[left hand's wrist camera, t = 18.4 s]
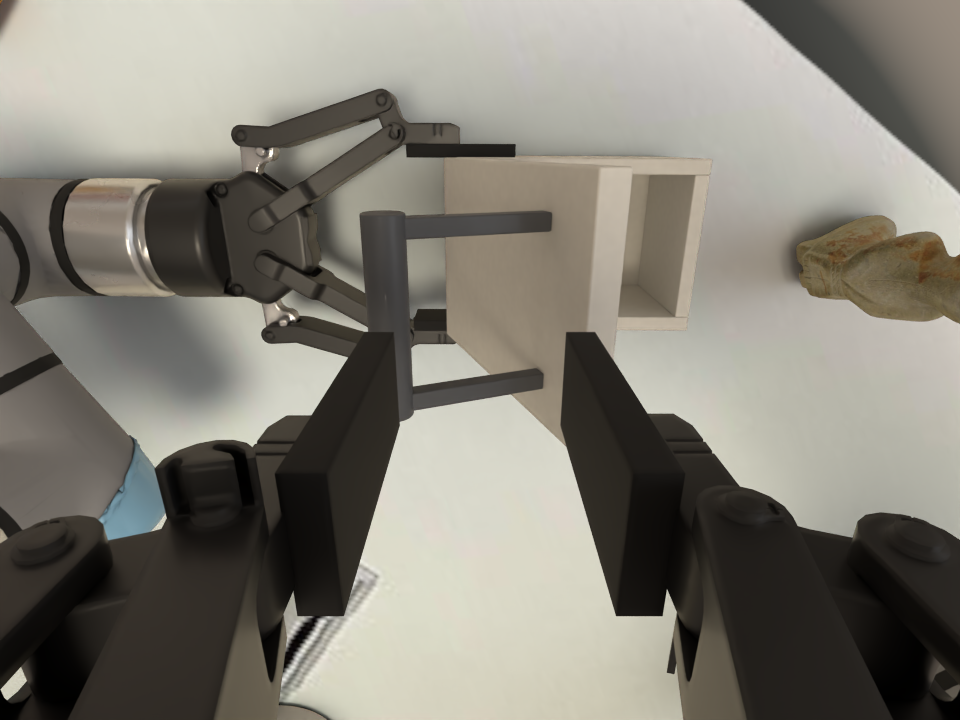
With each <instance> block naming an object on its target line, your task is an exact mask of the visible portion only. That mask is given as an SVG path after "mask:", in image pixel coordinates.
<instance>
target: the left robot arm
mask: <svg viewBox="0 0 960 720" xmlns="http://www.w3.org/2000/svg"><path fill="white" fill-rule="evenodd" d="M399 426H400V422H399V406H398V389H397V373H396V356H395V340H394V332H364V334H363V335H362V337H361V339H360V340H359V342H358V343H357V345H356V346H355V348H354V350H353V351H352V353H351V354H350V356H349V357H348V359H347V361H346V362H345V364H344V365H343V367H342V368H341V370H340V372H339V373H338V375H337V376H336V378H335V379H334V381H333V383H332V384H331V386H330V387H329V389H328V390H327V392H326V394H325V395H324V397H323V398H322V400H321V401H320V403H319V404H318V406H317V408H316V409H315V411H314V412H313V414H312V415H311V416H285V417H284V418H282V419H281V420H279V421H277V422H276V423H274V424H272V425H271V426H269V427H268V428H267V429H266V430H265V432H264V433H263V434H262V436H261V437H260V438H259V440H258V441H257V444H255V445H254V446H253V447H251V446H250V445H249V444H247V443H245V442H240V441H236V440H215V441H209V442H204V443H199V444H195V445H192V446H190V447H187V448H184V449H181V450H179V451H177V452H175V453H173V454H172V455H170V456H168V457H166V458H165V459H163V460H162V461H161V463H160V464H159V465H158V466H157V467H156V468H155V473H156V477H157V481H158V485H159V489H160V493H161V497H162V501H163V505H164V509H165V513H166V517H167V519H166V521H165V523H164V525H163V527H162V529H159V530H156V531H152V532H147V533H142V534H137V535H132V536H127V537H122V538H117V539H112V540H108V538H107V535H106V532H105V529H104V525H103V523H101V522H100V521H99V520H98V519H96V518H95V517H89V516H83V515H76V516H66V517H57V518H52V519H50V520H48V521H47V520H45V521H42V522H39V523H36V524H34V525H32V526H31V527H29V528H26V529H24V530H22V531H20V532H17V533H15V534H14V535H12V536H11V537H9V538H8V539H6V540H5V541H3V542H1V543H0V689H1V688H2V687H3V686H4V685H5V684H6V683H7V681H8V680H9V679H10V678H11V677H12V676H13V675H14V674H15V673H16V672H17V670H18V669H19V668H20V667H21V668H22V670H23V672H24V675H25V677H26V679H27V682H26V683H25V684H24V685H23V686H22V687H21V689H20V690H19V691H18V692H17V693H16V694H14V695H13V696H12V697H11V698H10V699H8V700H6V699H5V698H4V697H3V694H2V692H1V690H0V720H277V714H278V706H279V698H280V690H281V681H282V673H283V665H284V657H285V649H286V641H287V634H286V627H285V621H284V615H283V614H284V611H285V609H286V607H287V604H288V602H289V600H290V597H291V595H292V593H293V591H294V597H295V603H296V610H297V616H344V614H345V610H346V607H347V604H348V600H349V597H350V593H351V590H352V587H353V583H354V580H355V576H356V573H357V569H358V566H359V563H360V559H361V556H362V552H363V549H364V546H365V542H366V539H367V535H368V532H369V529H370V525H371V522H372V518H373V515H374V511H375V508H376V505H377V501H378V498H379V494H380V491H381V488H382V484H383V481H384V477H385V474H386V470H387V467H388V464H389V460H390V457H391V453H392V450H393V447H394V443H395V440H396V436H397V433H398V430H399ZM560 426H561V430H562V433H563V436H564V440H565V443H566V447H567V450H568V453H569V457H570V460H571V464H572V467H573V470H574V474H575V477H576V481H577V484H578V488H579V491H580V494H581V498H582V501H583V505H584V508H585V511H586V515H587V518H588V522H589V525H590V529H591V532H592V535H593V539H594V542H595V546H596V549H597V552H598V556H599V559H600V563H601V566H602V569H603V573H604V576H605V580H606V583H607V587H608V590H609V593H610V597H611V600H612V604H613V607H614V610H615V614H616V616H663V610H664V603H665V597H666V591H667V590H668V592H669V594H670V597H671V599H672V601H673V604H674V606H675V608H676V611H677V615H676V621H675V627H674V632H673V638H672V644H671V650H670V655H669V661H668V668H667V673H671V674H674V673H675V667H676V664H677V672H678V680H679V688H680V696H681V704H682V712H683V720H960V540H959V539H957V538H956V537H954V536H953V535H951V534H950V533H948V532H947V531H945V530H943V529H940V528H938V527H936V526H934V525H931V524H929V523H928V522H926V521H924V520H921V519H918V518H915V517H914V518H911V516H906V515H901V514H890V513H874V514H868V515H865V516H864V517H863V518H861V519H860V520H859V521H858V522H857V525H856V529H855V532H854V535H853V538H851V537H846V536H840V535H835V534H830V533H825V532H820V531H815V530H810V529H806V528H802V527H799V526H797V524H796V522H795V520H794V518H793V517H792V515H791V514H790V513H789V512H788V510H787V509H786V508H785V507H784V506H783V505H781V504H780V503H779V502H777V501H776V500H774V499H773V498H771V497H770V496H767V495H765V494H762V493H760V492H757V491H755V490H753V489H748V488H743V487H740V486H739V485H738V484H737V482H736V481H735V480H734V479H733V477H732V476H731V475H730V473H729V472H728V471H727V470H726V468H725V467H724V466H723V464H722V463H721V462H720V460H719V459H718V458H717V457H716V455H715V454H712V450H711V449H710V448H709V446H708V445H707V444H706V442H703V439H702V437H701V436H700V435H699V433H698V432H697V431H696V430H695V428H694V427H693V426H692V425H691V424H689V423H688V422H686V421H684V420H683V419H681V418H679V417H678V416H676V415H675V414H647V412H646V411H645V409H644V408H643V406H642V404H641V403H640V401H639V400H638V398H637V397H636V395H635V394H634V392H633V390H632V389H631V387H630V386H629V384H628V383H627V381H626V379H625V378H624V376H623V375H622V373H621V372H620V370H619V368H618V367H617V365H616V364H615V362H614V361H613V359H612V357H611V356H610V354H609V353H608V351H607V350H606V348H605V346H604V345H603V343H602V342H601V340H600V339H599V337H598V335H597V334H596V332H566V340H565V356H564V373H563V389H562V406H561V422H560Z"/></svg>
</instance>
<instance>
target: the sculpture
mask: <svg viewBox="0 0 960 720" xmlns="http://www.w3.org/2000/svg"><path fill="white" fill-rule="evenodd" d="M796 254H797V261H798V262H799V263H800V264H801V265H802V267H803V270H802V271H801V272H800V273H799V278H800V281H801V285H802V287H804V288H807V290H808V292H809V294H810V295H812V296H816V297H819V298H827V299H842V300H850V301H851V302H853V303H854V304H855V305H857V306H858V307H859V308H860V309H862V310H863V311H864V312H866V313H867V314H869V315H871V316H874V317H878V318H887V319H896V320H906V321H931V320H935V319H937V318H940V317H942V316H943V315H944V316H946V317H948V318H949V319H951V320H953V321H955V322H957V323H960V254H959V255H958V256H956V257H951V256H949V255H948V253H947V251H946V248H945V246H944V243H943V241H942V240H941V238H940V237H939V236H938V235H937V234H935V233H932V232H917V233H911V234H906V235H903V236H899V237H896V225H895V224H894V222H893V221H892V220H890V219H889V218H887V217H885V216H878V215H876V216H867V217H863V218H859V219H856V220H854V221H852V222H849V223H847V224H845V225H843V226H841V227H839V228H837V229H835V230H833V231H831V232H829V233H828V234H826V235H824V236H822V237H819V238H816V239H813V240H807V241H804V242H802V243H800V244H799V245H797V248H796Z"/></svg>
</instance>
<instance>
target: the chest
mask: <svg viewBox="0 0 960 720" xmlns="http://www.w3.org/2000/svg"><path fill="white" fill-rule="evenodd" d="M456 158H479V159H498V160H517V161H537V162H556V163H575V164H595V165H614V166H631V167H632V168H633V175H632V184H631V194H630V204H629V213H628V223H627V233H626V242H625V252H624V262H623V271H622V281H621V291H620V300H619V310H618V320H617V329H616V330H686V329H687V323H688V315H689V309H690V302H691V296H692V289H693V283H694V276H695V270H696V263H697V257H698V250H699V243H700V237H701V230H702V224H703V217H704V211H705V204H706V198H707V191H708V185H709V178H710V176H709V175H710V172H711V166H712V159H700V158H679V157H649V156H515V157H456Z"/></svg>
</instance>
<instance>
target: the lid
mask: <svg viewBox="0 0 960 720" xmlns="http://www.w3.org/2000/svg"><path fill="white" fill-rule="evenodd" d="M632 175H633V168H632V167H631V166H614V165H595V164H575V163H556V162H537V161H517V160H498V159H479V158H444V193H445V214H437V215H411V216H405V213H404V212H400V211H368V212H362V213H360V227H361V241H362V254H363V268H364V281H365V294H366V308H367V321H368V332H394V340H395V356H396V373H397V389H398V406H399V422H400V421H404V420H407V419H409V418H410V417H411V416H412V415H413V413H414V410H420V409H426V408H432V407H438V406H444V405H449V404H455V403H461V402H467V401H473V400H479V399H485V398H491V397H497V396H503V395H509V394H511V395H512V396H513V397H514V398H515V399H517V400H518V401H519V402H520V403H521V404H522V405H523V406H524V407H525V408H526V409H527V410H528V411H529V412H530V413H531V414H532V415H533V416H534V417H536V418H537V419H538V420H539V421H540V422H541V423H542V424H543V425H544V426H545V427H546V428H547V429H548V430H549V431H550V432H551V433H552V434H553V435H555V436H556V437H557V438H558V439H559V440H560V441H561V442H562V443H563V444H564V445H565V446H566V443H565V440H564V436H563V433H562V430H561V426H560V422H561V406H562V389H563V373H564V356H565V340H566V332H596V334H597V335H598V337H599V339H600V340H601V342H602V343H603V345H604V346H605V348H606V350H607V351H608V353H609V354H610V356H611V357H612V359H613V358H614V348H615V339H616V329H617V320H618V310H619V300H620V291H621V281H622V271H623V262H624V252H625V242H626V233H627V223H628V213H629V204H630V194H631V184H632ZM444 237H445V249H446V305H447V334H448V335H449V336H450V337H451V338H452V339H453V340H454V341H455V342H456V343H457V344H458V345H459V346H461V347H462V348H463V349H464V350H465V351H466V352H467V353H468V354H469V355H470V356H471V357H472V358H473V359H474V360H475V361H476V362H477V363H478V364H480V365H481V366H482V367H483V368H484V369H485V370H486V371H487V372H488V373H489V374H490V375H487V376H480V377H473V378H467V379H460V380H454V381H447V382H441V383H434V384H427V385H421V386H414V387H413V381H412V358H411V336H410V313H409V290H408V268H407V245H406V240H407V239H425V238H444Z"/></svg>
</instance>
